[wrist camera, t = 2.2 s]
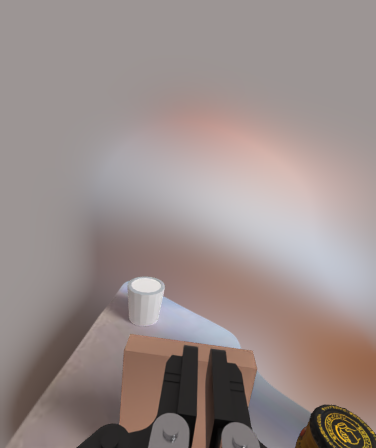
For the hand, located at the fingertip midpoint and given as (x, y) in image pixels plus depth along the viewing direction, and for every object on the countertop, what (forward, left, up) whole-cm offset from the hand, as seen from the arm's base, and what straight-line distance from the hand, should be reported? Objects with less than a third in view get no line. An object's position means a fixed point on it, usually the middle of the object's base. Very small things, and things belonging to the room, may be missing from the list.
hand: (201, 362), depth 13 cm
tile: (+5, -9, -22) cm, 24 cm away
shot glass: (+24, -25, -22) cm, 41 cm away
